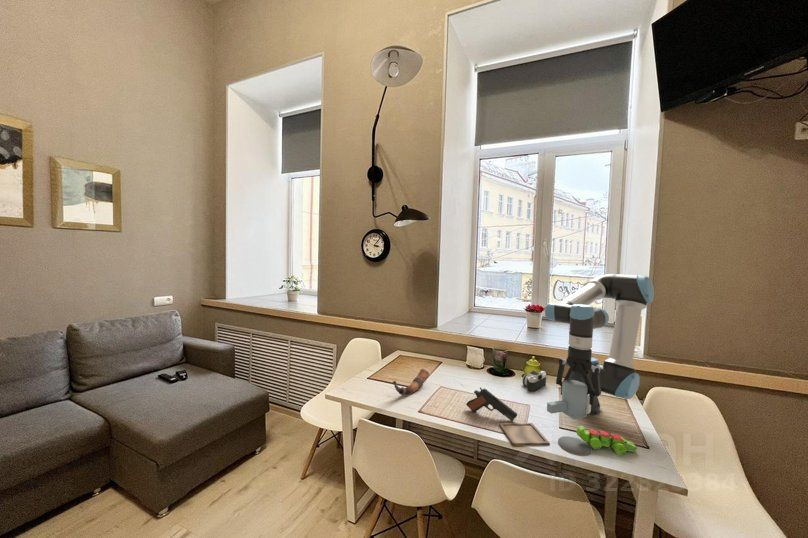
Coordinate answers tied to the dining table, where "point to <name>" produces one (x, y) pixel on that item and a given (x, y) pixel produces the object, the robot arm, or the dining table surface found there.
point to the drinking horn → (413, 383)
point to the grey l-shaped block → (571, 400)
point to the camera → (534, 380)
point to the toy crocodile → (606, 440)
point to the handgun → (487, 398)
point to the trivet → (574, 445)
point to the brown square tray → (523, 434)
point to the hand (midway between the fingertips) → (576, 408)
